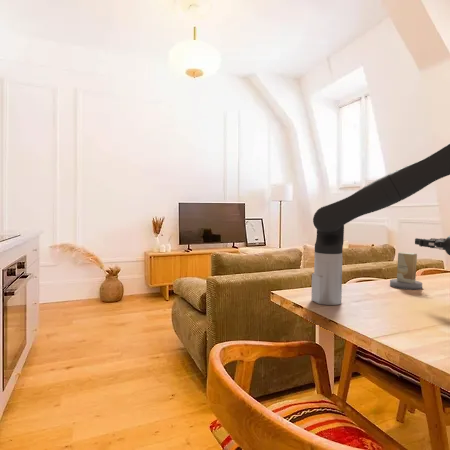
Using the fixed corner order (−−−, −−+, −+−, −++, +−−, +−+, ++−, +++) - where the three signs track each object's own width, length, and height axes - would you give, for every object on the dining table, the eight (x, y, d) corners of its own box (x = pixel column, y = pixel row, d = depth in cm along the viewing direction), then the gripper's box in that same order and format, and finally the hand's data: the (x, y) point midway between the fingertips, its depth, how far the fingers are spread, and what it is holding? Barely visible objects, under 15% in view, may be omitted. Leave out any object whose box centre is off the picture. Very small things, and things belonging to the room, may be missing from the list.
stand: (403, 290, 136) (403, 285, 136) (383, 284, 148) (383, 279, 148) (429, 289, 139) (429, 284, 138) (407, 282, 150) (407, 278, 150)
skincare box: (396, 281, 144) (397, 252, 143) (400, 280, 147) (400, 251, 146) (412, 283, 139) (413, 254, 139) (416, 282, 142) (417, 253, 142)
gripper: (483, 235, 112) (442, 231, 127) (447, 234, 108) (409, 230, 124) (482, 258, 112) (440, 251, 128) (446, 258, 109) (408, 251, 125)
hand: (425, 241), depth 126 cm, fingers open, 8 cm apart
